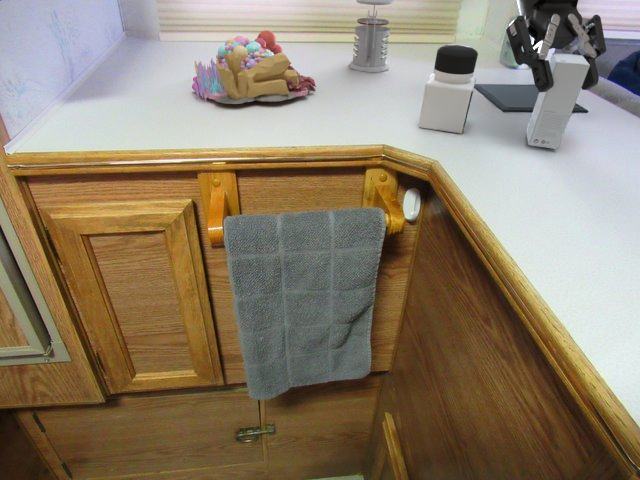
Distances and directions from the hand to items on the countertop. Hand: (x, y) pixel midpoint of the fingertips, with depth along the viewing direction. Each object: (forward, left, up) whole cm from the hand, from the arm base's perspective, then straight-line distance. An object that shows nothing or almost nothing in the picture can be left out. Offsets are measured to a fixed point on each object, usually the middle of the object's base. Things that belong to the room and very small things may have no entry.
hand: (568, 88), depth 59 cm
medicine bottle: (+13, -9, -9) cm, 19 cm away
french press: (+20, -45, -9) cm, 51 cm away
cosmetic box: (0, -2, -9) cm, 9 cm away
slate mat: (-8, -23, -9) cm, 26 cm away
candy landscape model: (+46, -28, -9) cm, 55 cm away
